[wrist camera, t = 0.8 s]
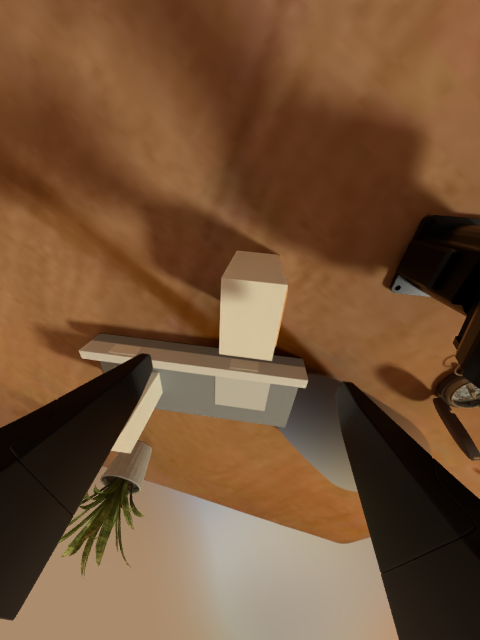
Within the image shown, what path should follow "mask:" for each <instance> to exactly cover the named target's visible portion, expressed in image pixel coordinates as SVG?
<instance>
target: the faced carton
mask: <svg viewBox="0 0 480 640" xmlns="http://www.w3.org/2000/svg"><path fill="white" fill-rule="evenodd" d="M115 367H116V366H115ZM115 367H114V368H115ZM162 393H163V391H162V386H161V380H160V375H159V372H154V371H152V373H151V375H150V378H149V380H148V382H147V384H146V387H145V389H144V391H143V394H142V396H141V398H140V400H139V402H138V404H137V406H136V407H135V409H134V411H133V413H132V414H131V416H130V418H129V420H128V421H127V423H126V425H125V427H124V428H123V430H122V432H121V434H120V435H119V437H118V439H117V441H116V442H115V444H114V446H113V448H112V449H111V451H117V452H123V453H131V452H132V450H133V448H134V446H135V444H136V442H137V440H138V438H139V436H140V435H141V433H142V431H143V429H144V427H145V425H146V423H147V421H148V420H149V418H150V416H151V414H152V412H153V410H154V408H155V406H156V404H157V403H158V401H159V399H160V397H161V395H162Z"/></svg>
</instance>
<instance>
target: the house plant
mask: <svg viewBox="0 0 480 640" xmlns="http://www.w3.org/2000/svg"><path fill="white" fill-rule="evenodd" d="M151 453H152V448H151V447H150V446H149V445H147V444H145V443H144V442H141V441H137V442H136V444H135V446H134V448H133V450H132V452H131V453H123V452H120V453H119V454H118V456H117V457H116V458H115V460H114V461H113V462H112V463H111V465H110V466H109V467H108V469H107V470H106V472H105V473H104V474H103V475H102V477H101V479H100V480H101V482H102V484H104V485H105V487H104V488H102V489H101V490H98V489H97V488H96V486H95V488H94V493H95V494H94V495H92V496H90V497H89V496H88V493H86V495H85V497H84V498H83V499H85V500H83V501H82V502H81V504H83V503H85V502H86V501H88V500H90V499H91V498H93V497H94V496H96V495H97V494H99V495H98V496H96V497H94V498H93V500H96V501H95V502H93V503H91V504H89V505H86V506H80V505H81V504H80V505H79V506H80V507H81V508H82V509H86V510H85V511H84V512H83V513H82V514H80V515H79V516H78V517H76V518H75V519H74V520H72V521H71V522H70V523H69V525H71V524H72V523H73V522H75V521H76V520H77V519H78V518H80V517H81V516H82V515H83V514H84V513H86V512H87V511H88V510H89V509H90V508H92V507H94V506H96V505H97V504H99V503H100V502H102V501H103V500H104V499H105V498H106V499H105V500H104V501H103V502H102V504H101V505H100V506H99V507H97V508H96V509H95V510H94V511H93V512H92V513H91V514H90V515H89V516H88V517H87V518H85V519H84V520H83V521H82V522H81V523H80V524H78V525H77V526H76V527H75V528H73V529H72V530H71V531H70V532H68V533H67V534H65V535H64V536H62V537H61V539H60V541H59V542H58V543H60V542H62V541H63V540H65V539H66V538H68V537H69V536H70V535H72V534H73V533H74V532H76V531H77V530H78V529H79V528H80V527H81V526H82V525H83V524H84V523H85V522H86V521H88V520H89V519H90V518H91V517H92V516H93V517H92V518H91V519H90V521H89V522H88V524H87V525H86V526H85V527H84V528H83V529H82V531H81V532H80V533H79V534H78V535H77V536H76V538H75V539H74V540H73V541H72V542H71V543H70V545H69V546H68V548H67V549H66V551H65V553H64V554H63V555H62V557H64V556H66V555H68V554H69V553H71V554H70V555H72V554H74V553H76V552H77V551H78V550H79V548H80V547H81V545H82V544H83V542H84V541H85V540H86V539H87V538H88V537H89V539H88V541H87V543H86V546H85V548H84V552H83V555H82V563H81V572H82V573H83V569H84V564H85V566H86V563H85V559H86V556H87V559H88V555H89V553H90V550H91V546H92V544H93V541H94V539H97V538H98V540H97V543H96V562H97V564H98V565H99V564H100V562H101V559H102V555H103V552H104V549H105V546H106V542H107V540H108V538H109V535H110V532H111V530H112V527H113V526H114V524H115V522H116V546H117V549H118V538H119V545H120V550H121V553H122V556H123V558H124V560H125V561H126V559H125V557H124V554H123V549H122V544H121V531H120V529H121V528H120V507H121V508H122V504H123V511H124V516H125V518H126V521H127V523H128V525H129V526H130V527H131V528H132V529H134V528H133V525H132V517H131V515H130V511H131V510H132V511H133V512H134V514H135V515H136V516H139V517H143V515H142V514H141V513H140V512H139V511H138V510H137V509H136V507H135V505H134V503H133V501H132V494H136V493H139V492H140V490H141V487H142V484H143V480H144V477H145V473H146V470H147V467H148V463H149V460H150V456H151ZM107 487H108V488H107ZM104 489H105V490H104ZM103 490H104V491H103ZM102 491H103V492H102ZM87 492H88V491H87ZM128 494H130V505H131V508H132V509H129V504H128V497H127V495H128ZM117 520H118V536H117ZM103 522H104V523H103ZM102 524H103V526H102ZM69 525H68V526H69ZM101 526H102V528H101V531H100V534H99V537H97V538H95V537H96V535H97V532H98V531H99V529H100V527H101ZM87 554H88V555H87ZM87 559H86V562H87ZM126 563H127V561H126ZM127 565H129V564H128V563H127ZM129 566H130V565H129ZM84 571H85V569H84Z"/></svg>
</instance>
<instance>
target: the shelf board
mask: <svg viewBox="0 0 480 640" xmlns="http://www.w3.org/2000/svg"><path fill="white" fill-rule="evenodd" d="M79 353H80V355H81V357H82V359H90V360H97V361H99V362H100V364H101V367H102V369H103V372H104V373H106V372H107V371H109V370H111V369H113V368H114V367H115V366H116V367H117V366H118V365H120V364H122V363H124V362H126V361H128V360H129V359H131V358H133V357H135V356H137V355H139V354H141V353H145V354H150V356H151V359H152V364H153V370H152V371H154V372H159V375H160V380H161V386H162V391H163V393H162V395H161V397H160V399H159V401H158V403H157V404H156V406H155V408H154V409H160V410H167V411H174V412H181V413H188V414H195V415H202V416H209V417H216V418H223V419H230V420H237V421H244V422H251V423H258V424H265V425H272V426H279V427H285V426H286V423H287V420H288V417H289V414H290V411H291V408H292V405H293V402H294V399H295V396H296V393H297V390H298V387H301V388H306V385H307V382H308V378H307V374H306V370H305V366H304V362H303V359H300V358H292V357H284V356H276V355H273V358H272V361H269V360H261V359H253V358H245V357H238V356H230V355H222V354H219V348H213V347H205V346H197V345H189V344H181V343H173V342H165V341H157V340H149V339H141V338H133V337H125V336H117V335H109V334H101V333H100V334H99V335H97V336H96V337H95V338H94V339H92V340H91V341H90V342H89V343H87V344H86V345H85V346H84V347H82V348H81V349H80V350H79Z"/></svg>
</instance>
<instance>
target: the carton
mask: <svg viewBox="0 0 480 640" xmlns="http://www.w3.org/2000/svg"><path fill="white" fill-rule="evenodd" d="M287 292H288V284H287V281H286V277H285V274H284V270H283V267H282V263H281V260H280V256H279V255H276V254H267V253H257V252H247V251H236V253H235V255H234V256H233V258H232V260H231V262H230V263H229V265H228V267H227V269H226V270H225V272H224V274H223V276H222V277H221V305H220V339H219V354H222V355H230V356H238V357H245V358H253V359H261V360H269V361H272V358H273V353H274V348H275V347H276V344H277V339H278V334H279V330H280V325H281V320H282V316H283V311H284V306H285V302H286V297H287Z"/></svg>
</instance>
